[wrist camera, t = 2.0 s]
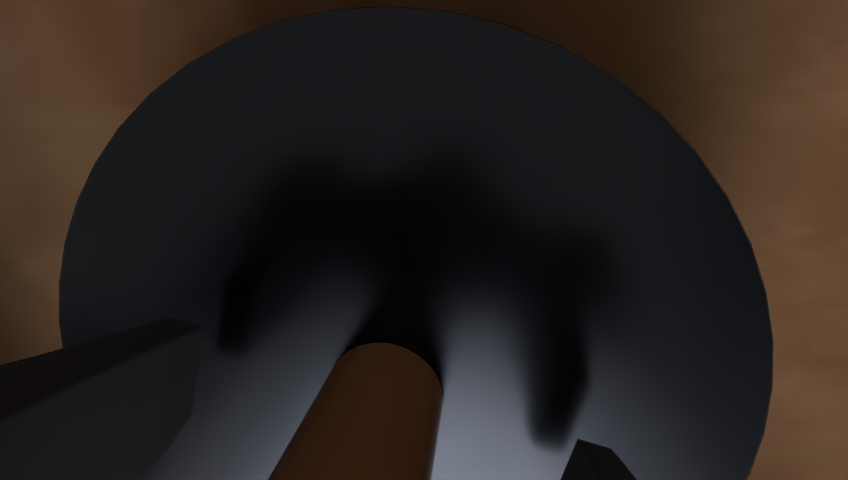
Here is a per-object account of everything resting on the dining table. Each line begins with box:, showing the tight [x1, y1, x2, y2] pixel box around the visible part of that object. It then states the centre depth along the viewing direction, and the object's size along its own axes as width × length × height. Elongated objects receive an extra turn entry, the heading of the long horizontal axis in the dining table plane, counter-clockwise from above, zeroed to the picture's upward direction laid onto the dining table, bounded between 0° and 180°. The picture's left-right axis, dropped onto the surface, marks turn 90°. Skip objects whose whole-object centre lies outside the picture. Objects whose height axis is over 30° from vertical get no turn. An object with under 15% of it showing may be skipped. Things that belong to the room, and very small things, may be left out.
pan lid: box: [59, 6, 773, 480], centre depth 9 cm, size 15×15×5 cm
